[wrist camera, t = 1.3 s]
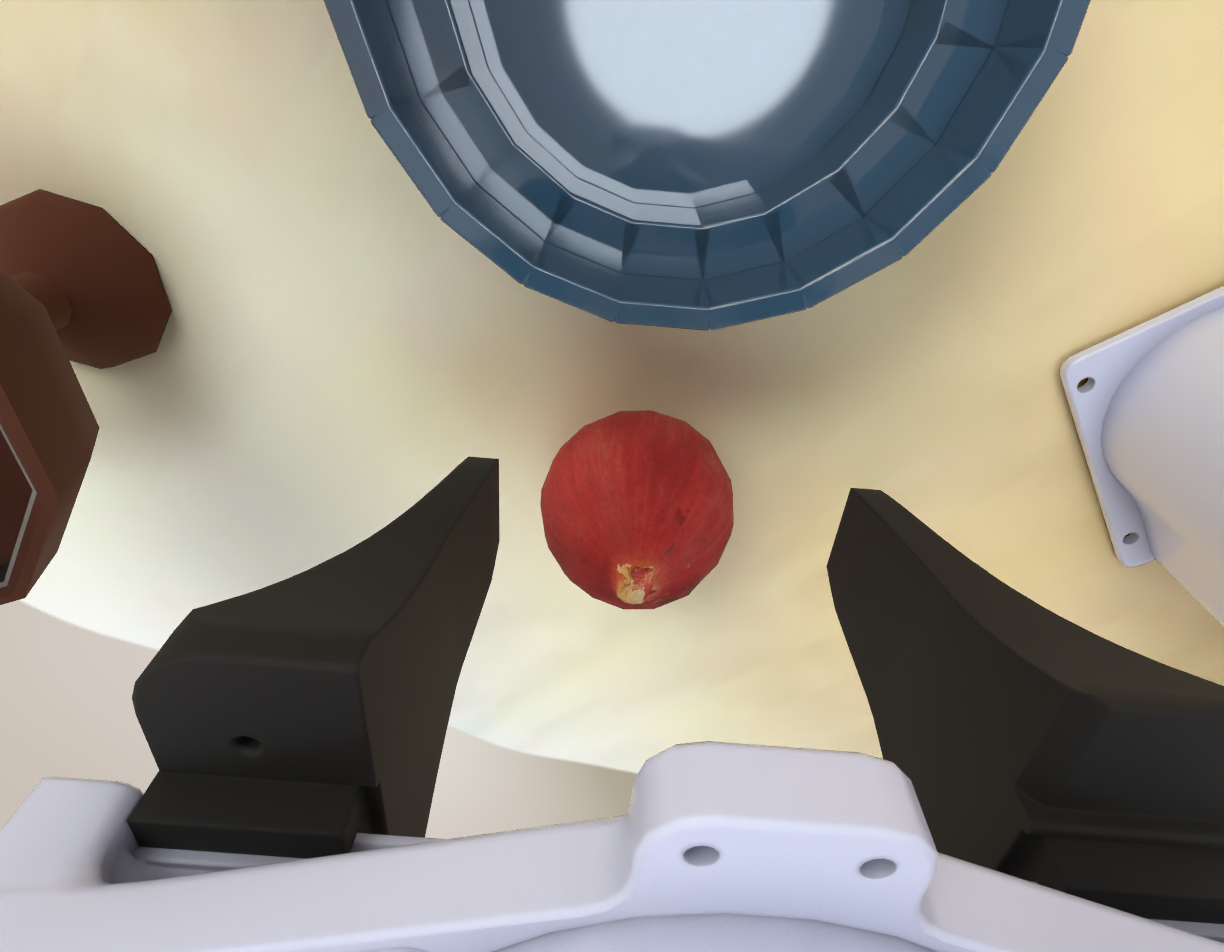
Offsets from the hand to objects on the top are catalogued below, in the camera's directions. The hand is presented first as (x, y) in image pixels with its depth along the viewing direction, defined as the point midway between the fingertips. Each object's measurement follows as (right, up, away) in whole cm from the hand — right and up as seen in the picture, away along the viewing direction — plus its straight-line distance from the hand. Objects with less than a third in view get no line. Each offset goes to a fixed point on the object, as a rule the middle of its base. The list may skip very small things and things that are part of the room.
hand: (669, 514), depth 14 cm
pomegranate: (0, +2, +10) cm, 10 cm away
